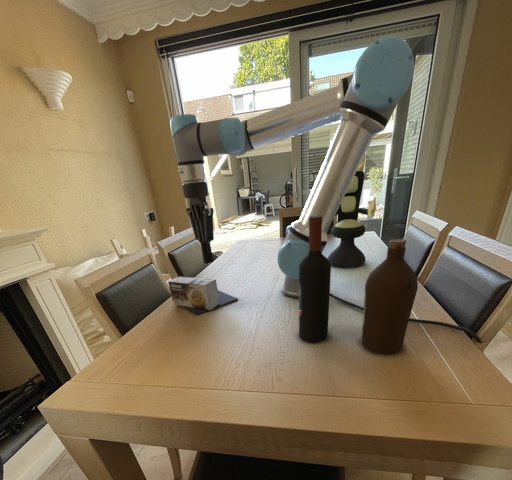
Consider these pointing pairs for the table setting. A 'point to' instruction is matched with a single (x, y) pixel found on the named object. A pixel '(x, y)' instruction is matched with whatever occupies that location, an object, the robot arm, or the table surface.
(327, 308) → the wine bottle
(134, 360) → the table surface
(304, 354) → the table surface
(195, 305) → the coffee box
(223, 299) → the placemat
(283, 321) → the table surface
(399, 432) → the table surface
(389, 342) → the olive oil
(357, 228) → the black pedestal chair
